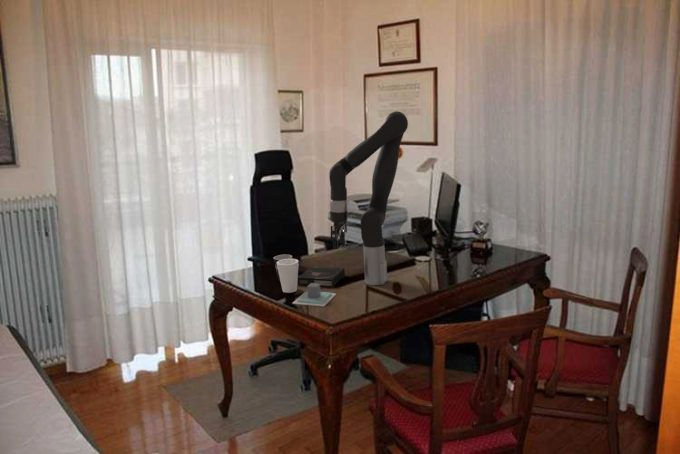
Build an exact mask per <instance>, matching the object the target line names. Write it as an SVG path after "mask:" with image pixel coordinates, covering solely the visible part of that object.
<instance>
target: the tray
mask: <svg viewBox="0 0 680 454" xmlns="http://www.w3.org/2000/svg"><path fill="white" fill-rule="evenodd" d="M307 291H308V290H305V291H304V292H303V293H302V294H301V295H300V296H298V297H297V298H296V299H295V300H294V301H293V302H291V303H292V305H300V306H302V305H303V306H313V307H326V305H327V304H328V303H330V301H332V299H333V298H334V297H335V296H337V293H335V292H331V293H332V295H331V296H330V297H329V298H328V299H327V300H326V301H325V302H324V303H323V304H316V303H304V302H297V300H298V299H299V298H300V297H301V296H302V295H303V294H305V293H306V292H307Z"/></svg>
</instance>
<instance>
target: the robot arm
mask: <svg viewBox="0 0 680 454" xmlns="http://www.w3.org/2000/svg"><path fill="white" fill-rule="evenodd" d="M408 126H409V121H408V118H407V116H406V114H404V112H402V111H392V112H391V113H389V114H388V115H387V117H386V118H385V121H384V123H383V124H382V125H381V126H380V128H378V129H377V131H375V132H374V133H373V134H372V135H370V136H369V137H368V138H366V139H365V140H362V141H361V142H360V143H359V144H357V145H356V146H354V147H353V148H352V149H351V150H350V151H349V152H348V153H347V154H346V155H345V156H344V157H342V158H341V159H339V160H338V161H337V162H335V163H334V164H333V166H331V167H330V169H329V172H328V173H329V174H328V175H329V185H330V203H329V220H330V221H331V222H333V225H330V238H329V239H330V240H331V241H332V248H333V249H335V250H337V249H339V244H345V243H346V234H347V233H348V226H347V225H348V222H347V221H348V216H349V215H348V210H349V209H348V190H347V189H348V188H347V187H346V186H347V185H346V182H347V181H346V179H347V178H346V177H347V176H348V175H349V174H350V173H352V171H353V170H354V169H356V168H358V167H359V166H361V165H362V164H363V163H364V162H365V161H367V160H368V159H369V158H370V157H371V156H372V155H373V154H375V153H376V152H377V151H378V150H379V152H378V155H377V159H376V162H375V165H374V168H373V171H372V172H373V173H372V179H371V188H372V189H371V198H370V201H369V205H368V207H367V210H365V211H364V212H363V213H362V214H361V216H360V232H361V233H360V234H361V239H362V243H363V244H362V246H363V247H362V248H363V265H364V266H363V267H364V283H365V284H366V285H368V286H380V285H381V286H382V285H385V284H386V282H387V281H388V268H387V264H388V263H387V260H386V258H385V257H386V256H385V255H386V253H385V252H386V251H385V239H384V237H383V230H382V228H383V227H382V226H383V224H384V223H385V220H386V212H387V206H388V201H389V196H390V194H391V191H392V188H393V184H394V182H395V181H394V180H395V178H396V174H397V169H398V164H399V154H400V146H401V144H402V140H403V137H404V135H405V132H406V131H407V130H408Z"/></svg>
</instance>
